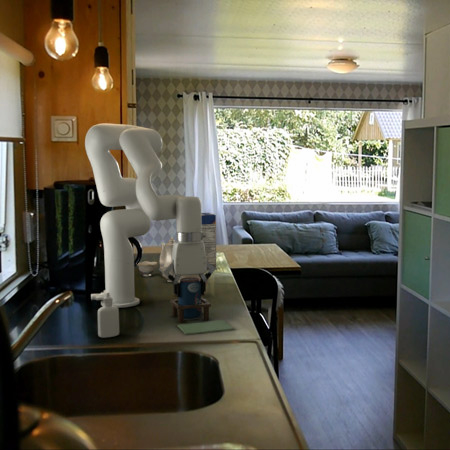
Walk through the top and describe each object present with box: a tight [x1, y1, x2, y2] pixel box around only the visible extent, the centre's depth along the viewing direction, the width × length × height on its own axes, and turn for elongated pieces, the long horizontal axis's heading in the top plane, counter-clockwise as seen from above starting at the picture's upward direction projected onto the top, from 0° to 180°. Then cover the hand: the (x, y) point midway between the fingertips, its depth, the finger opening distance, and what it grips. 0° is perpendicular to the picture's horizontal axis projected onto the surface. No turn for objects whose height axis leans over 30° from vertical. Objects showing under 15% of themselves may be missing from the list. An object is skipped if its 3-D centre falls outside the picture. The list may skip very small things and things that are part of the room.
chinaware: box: [136, 236, 177, 283], centre depth 264 cm, size 28×17×17 cm, turn 49°
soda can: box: [177, 277, 202, 321], centre depth 198 cm, size 7×7×12 cm
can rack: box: [169, 296, 212, 324], centre depth 198 cm, size 10×10×5 cm
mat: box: [176, 319, 235, 336], centre depth 187 cm, size 14×10×1 cm
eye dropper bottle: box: [97, 293, 120, 339], centre depth 178 cm, size 4×6×12 cm
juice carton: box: [201, 212, 217, 271], centre depth 286 cm, size 12×8×24 cm, turn 21°
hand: (189, 294), depth 197 cm, fingers closed on soda can, 7 cm apart
